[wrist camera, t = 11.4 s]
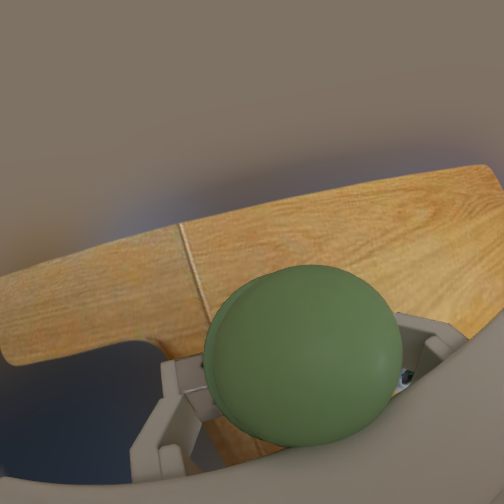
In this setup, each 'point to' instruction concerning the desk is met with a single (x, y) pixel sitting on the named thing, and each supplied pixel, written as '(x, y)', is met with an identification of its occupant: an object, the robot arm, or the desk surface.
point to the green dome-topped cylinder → (303, 356)
